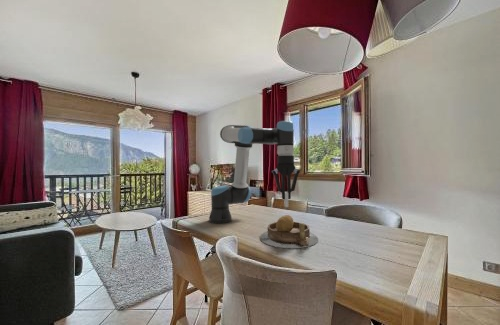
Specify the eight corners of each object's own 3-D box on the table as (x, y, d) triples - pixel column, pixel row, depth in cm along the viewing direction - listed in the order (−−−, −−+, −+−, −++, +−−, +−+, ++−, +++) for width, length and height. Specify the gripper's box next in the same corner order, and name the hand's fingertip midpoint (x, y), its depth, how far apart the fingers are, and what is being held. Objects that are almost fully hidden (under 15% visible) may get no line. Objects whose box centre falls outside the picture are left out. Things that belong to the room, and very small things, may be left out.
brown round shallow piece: (261, 231, 123) (261, 214, 123) (295, 227, 130) (295, 211, 130) (283, 247, 99) (282, 226, 99) (323, 241, 106) (323, 222, 106)
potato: (285, 239, 104) (271, 228, 106) (286, 236, 117) (273, 227, 119) (297, 221, 104) (283, 210, 107) (297, 221, 118) (284, 211, 120)
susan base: (252, 244, 108) (252, 236, 108) (268, 228, 135) (268, 221, 135) (316, 251, 98) (316, 242, 98) (319, 231, 125) (319, 225, 125)
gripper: (272, 155, 101) (273, 208, 101) (301, 154, 102) (302, 207, 102) (270, 155, 109) (271, 205, 109) (297, 155, 109) (298, 204, 109)
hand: (286, 206), depth 105 cm, fingers closed
